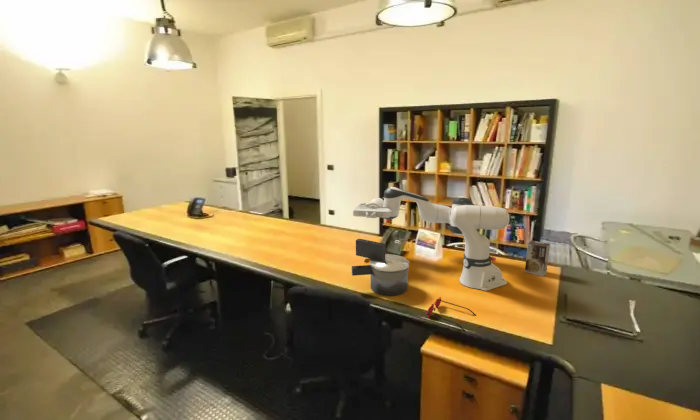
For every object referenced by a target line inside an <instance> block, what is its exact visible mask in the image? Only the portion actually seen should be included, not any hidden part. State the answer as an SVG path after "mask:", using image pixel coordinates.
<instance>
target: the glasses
mask: <svg viewBox="0 0 700 420" xmlns="http://www.w3.org/2000/svg"><path fill="white" fill-rule="evenodd" d="M441 303H445V304H449V305H453V306H455V307H459V308H463V309H466V310H467V311H469V312H471V313H472V315H474V316H475V317H476V316H477V314H476V313H474V312H473V310H471V309H470V308H467V307H465V306H462V305H459V304H455V303H452V302H448V301H445V300H442V297H441V296H440V297H438V298H436V300H435V302H434V303H433V304H432V303H431V306H429V307H428V310H427V312H425V315H427V318H430V317H431V316H432V317H433V318H434V317H435V318H437V319H439V320H440V319H441V320H444V321H446V322H450V323H453V324H455V325H457V326H459V328H460V329H461V331H463V332H465V333H466V330H465V329H464V328H463V327H462V325H460V324H459V323H457V322H455V321H453V320H450V319H446V318H443V317H439V316H437V315H434V314H432V313H433V312H436V309H438V308H439V307H440V305H441Z"/></svg>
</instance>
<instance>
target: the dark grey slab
mask: <svg viewBox="0 0 700 420" xmlns="http://www.w3.org/2000/svg"><path fill="white" fill-rule="evenodd" d="M355 256H356V257H357V256H358V257H361V258H362V257H363V258H367V259H369V265H370V266H371V267H372V268H374V269H376V270H378V271H383V272H399V271H403V270H405V269H407V268H408V269H409V267H410V260H408V259H407V258H406V257H405V256H402V255H397V254H389V253H387V254H386V243H384V242H377V241H374V240H369V239H362V238H357V239H355Z"/></svg>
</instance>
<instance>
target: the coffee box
mask: <svg viewBox="0 0 700 420" xmlns="http://www.w3.org/2000/svg"><path fill="white" fill-rule="evenodd" d="M550 246H551V243H548V242H542V241H536V240H532V239H531V240H530V241H529V242H528V243H527V245H526V247H527V248H526V258H525V268H524V272H525V273H529V274H532V275H537V276H539V277H540V276H541V277H544V276H546V274H547V272H548V262H549V254H550Z"/></svg>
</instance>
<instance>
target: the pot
mask: <svg viewBox="0 0 700 420" xmlns="http://www.w3.org/2000/svg"><path fill="white" fill-rule="evenodd" d="M351 275H352V276H353V277H354V276H366V275H367V276H369V275H370V289H371V291H372V292H373V293H375V294H377V295H378V296H379V295H380V296H384V297H397V296H402V295H403V294H405V293H406V292H408V289H409V267H408V268H407V269H405V270H403V271H399V272H383V271H378V270H376V269H374V268H372V267H371V266H370V264H368V265H367V264H366V265H352V266H351Z"/></svg>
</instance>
